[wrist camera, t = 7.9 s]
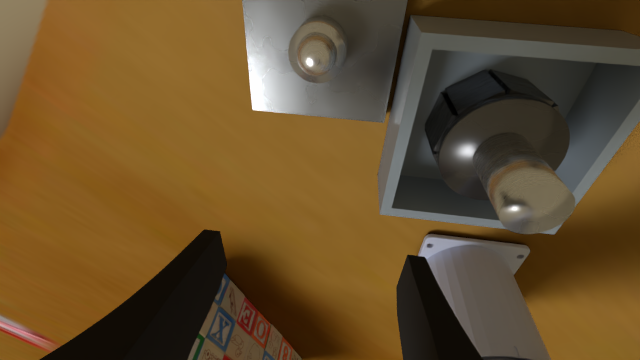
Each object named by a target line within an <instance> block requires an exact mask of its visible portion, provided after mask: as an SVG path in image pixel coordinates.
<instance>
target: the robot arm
mask: <svg viewBox="0 0 640 360" xmlns="http://www.w3.org/2000/svg"><path fill="white" fill-rule="evenodd" d="M529 253H530V249H529V247H528V246H526V245H520V244H512V243H504V242H495V241H487V240H479V239H470V238H462V237H453V236H445V235H437V234H428V235H426V236H425V238H424V240H423V243H422V246H421V248H420V251H419V254H418V256H414V255H407V258H406V261H405V264H404V267H403V270H402V273H401V276H400V278H399V281H398V284H397V316H398V324H399V331H400V339H401V346H402V354H403V360H551V358H550V356H549V354H548V351H547V349H546V347H545V345H544V343H543V340H542V338H541V336H540V334H539V331H538V329H537V327H536V325H535V322H534V320H533V318H532V316H531V313H530V311H529V309H528V307H527V304H526V302H525V300H524V298H523V296H522V293H521V291H520V289H519V287H518V284H517V282H516V280H515V278H514V274H515V273H516V271H517V270H518V269H519V267H520V266H521V264H522V263H523V262H524V260H525V259H526V257H527V256H528V255H529ZM226 266H227V262H226V257H225V253H224V248H223V244H222V239H221V234H220V231H212V230H203V231H202V232H201V233H200V234H199V235H198V236H197V237H196V238H195V239H194V240H193V241H192V242H191V243H190V244H189V245H188V246H187V247H186V248H185V249H184V250H183V251H182V252H181V253H180V254H179V255H178V256H177V257H175V258H174V259H173V260H172V261H171V262H170V263H169V264H168V265H167V266H166V267H165V268H164V269H163V270H161V271H160V272H159V273H158V274H157V275H156V276H155V277H154V278H152V279H151V280H150V281H149V282H148V283H147V284H145V285H144V286H143V287H142V288H141V289H140V290H138V291H137V292H136V293H135V294H134V295H132V296H131V297H130V298H129V299H127V300H126V301H125V302H124V303H122V304H121V305H120V306H119V307H117V308H116V309H115V310H113V311H112V312H111V313H109V314H108V315H107V316H105V317H104V318H102V319H101V320H100V321H98V322H97V323H95V324H94V325H92V326H91V327H90V328H88V329H87V330H85V331H84V332H82V333H81V334H79V335H78V336H76V337H75V338H73V339H72V340H70V341H69V342H67V343H66V344H64V345H62V346H61V347H59V348H58V349H56V350H54V351H53V352H51V353H49V354H48V355H46V356H45V357H43V358H41V359H40V360H188V357H189V355H190V352H191V350H192V347H193V345H194V343H195V341H196V339H197V336H198V334H199V332H200V330H201V328H202V326H203V323H204V321H205V319H206V317H207V315H208V313H209V311H210V308H211V306H212V304H213V302H214V300H215V297H216V295H217V293H218V291H219V288H220V285H221V282H222V279H223V276H224V273H225V270H226Z"/></svg>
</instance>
